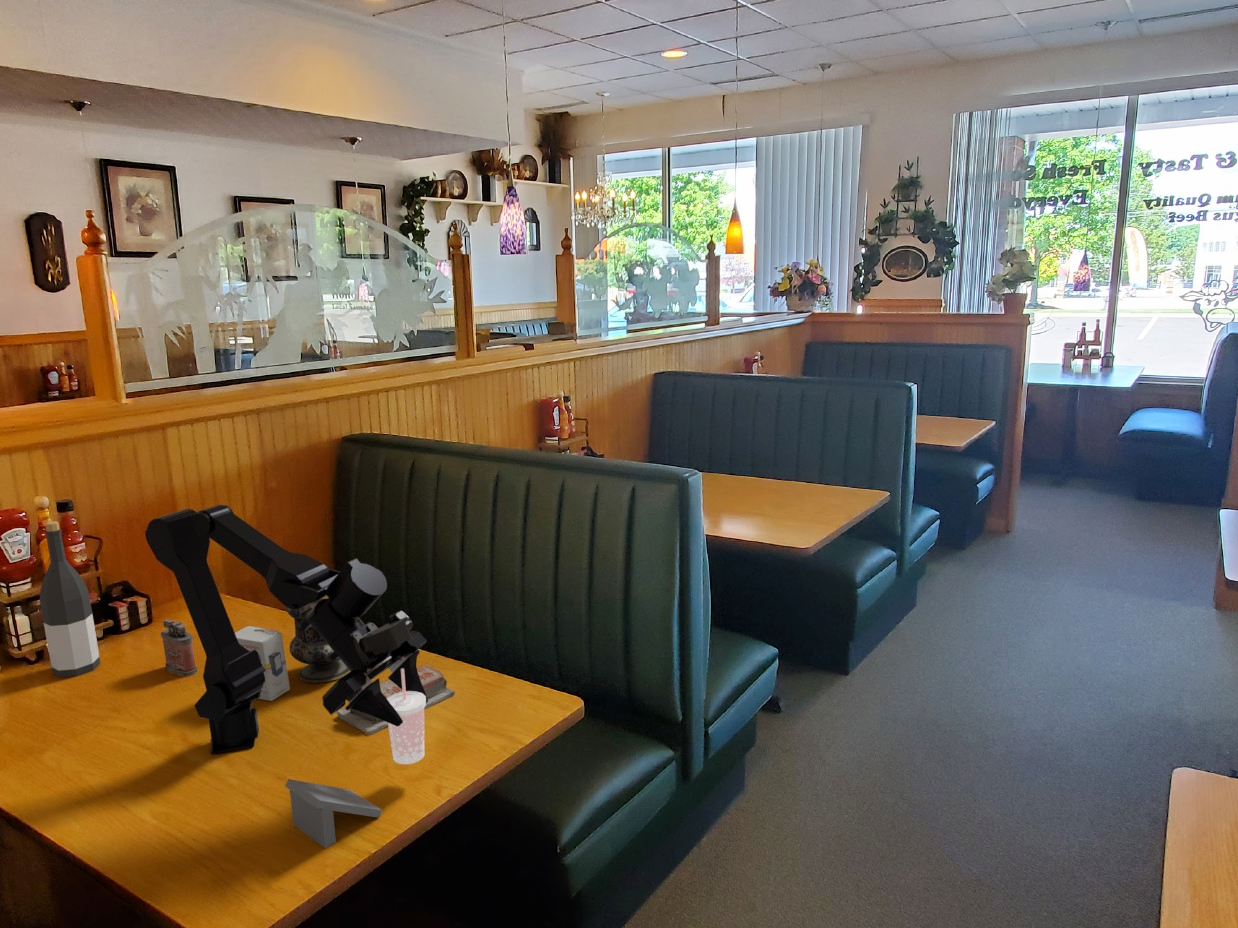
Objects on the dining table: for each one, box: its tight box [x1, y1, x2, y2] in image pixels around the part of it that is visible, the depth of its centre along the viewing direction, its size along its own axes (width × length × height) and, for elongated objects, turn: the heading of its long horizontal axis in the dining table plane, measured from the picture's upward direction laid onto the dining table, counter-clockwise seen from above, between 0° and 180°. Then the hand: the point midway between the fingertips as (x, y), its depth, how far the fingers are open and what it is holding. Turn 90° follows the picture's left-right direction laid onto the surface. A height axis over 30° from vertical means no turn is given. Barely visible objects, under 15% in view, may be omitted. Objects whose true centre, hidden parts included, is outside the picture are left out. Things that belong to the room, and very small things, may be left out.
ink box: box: [235, 625, 291, 702], centre depth 157 cm, size 9×5×12 cm, turn 68°
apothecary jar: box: [285, 595, 351, 684], centre depth 165 cm, size 12×12×18 cm
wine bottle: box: [39, 521, 101, 678], centre depth 167 cm, size 8×8×30 cm
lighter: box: [160, 618, 198, 677], centre depth 168 cm, size 8×3×10 cm, turn 58°
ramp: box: [284, 778, 383, 849], centre depth 120 cm, size 10×8×7 cm
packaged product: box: [336, 664, 456, 736], centre depth 152 cm, size 18×5×10 cm
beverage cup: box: [386, 668, 426, 765], centre depth 127 cm, size 6×6×14 cm
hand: (413, 713), depth 127 cm, fingers closed on beverage cup, 6 cm apart
